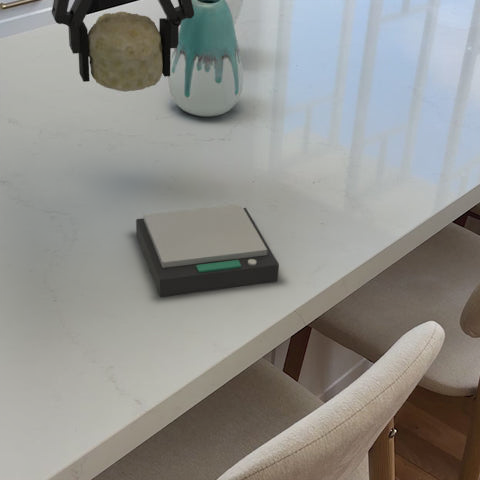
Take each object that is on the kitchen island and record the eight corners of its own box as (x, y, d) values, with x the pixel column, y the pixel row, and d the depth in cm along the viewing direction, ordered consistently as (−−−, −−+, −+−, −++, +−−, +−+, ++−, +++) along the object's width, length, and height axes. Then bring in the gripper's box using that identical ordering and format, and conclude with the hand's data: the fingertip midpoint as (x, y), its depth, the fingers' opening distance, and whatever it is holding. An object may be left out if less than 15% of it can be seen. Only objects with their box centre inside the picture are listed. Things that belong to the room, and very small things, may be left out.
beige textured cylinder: (165, 96, 115) (153, 19, 115) (172, 82, 106) (159, -2, 105) (93, 105, 114) (81, 27, 113) (94, 91, 104) (80, 5, 103)
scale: (159, 297, 99) (159, 273, 97) (136, 235, 109) (136, 213, 107) (277, 281, 104) (279, 258, 102) (244, 223, 113) (246, 201, 112)
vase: (227, 129, 135) (232, 13, 125) (156, 115, 137) (156, 0, 127) (250, 101, 144) (258, -9, 134) (184, 87, 147) (186, -22, 136)
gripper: (23, -110, 92) (39, 92, 104) (227, -109, 99) (218, 81, 112) (14, -126, 97) (30, 68, 110) (208, -124, 104) (201, 58, 117)
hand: (125, 74), depth 111 cm, fingers closed on beige textured cylinder, 9 cm apart
